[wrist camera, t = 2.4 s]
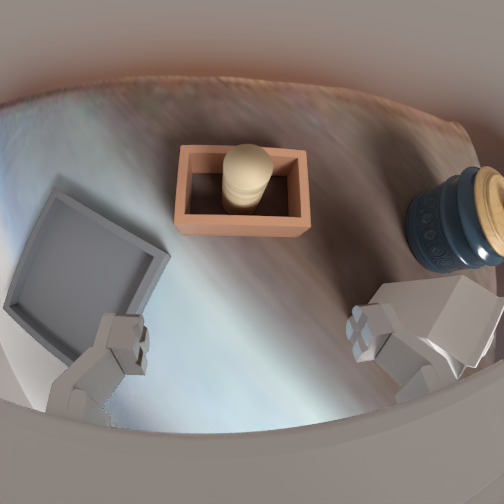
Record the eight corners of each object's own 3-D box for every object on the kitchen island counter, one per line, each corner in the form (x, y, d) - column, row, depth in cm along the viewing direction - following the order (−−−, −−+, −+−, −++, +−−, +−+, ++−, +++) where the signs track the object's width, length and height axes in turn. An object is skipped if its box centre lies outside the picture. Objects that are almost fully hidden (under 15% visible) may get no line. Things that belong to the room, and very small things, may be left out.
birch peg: (248, 224, 34) (259, 196, 25) (214, 207, 34) (214, 174, 24) (264, 193, 35) (281, 157, 25) (232, 177, 35) (238, 136, 25)
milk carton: (350, 324, 34) (459, 343, 15) (382, 283, 35) (493, 270, 17) (382, 356, 34) (487, 387, 15) (410, 316, 35) (518, 321, 17)
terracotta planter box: (297, 237, 35) (310, 227, 29) (180, 235, 33) (174, 224, 28) (294, 169, 36) (305, 150, 31) (185, 165, 35) (180, 145, 29)
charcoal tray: (110, 382, 30) (102, 389, 27) (15, 308, 29) (2, 308, 26) (170, 256, 33) (166, 253, 30) (65, 194, 32) (55, 187, 29)
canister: (406, 275, 36) (504, 260, 19) (398, 188, 38) (479, 137, 21) (461, 273, 37) (545, 260, 20) (453, 198, 39) (527, 163, 22)
